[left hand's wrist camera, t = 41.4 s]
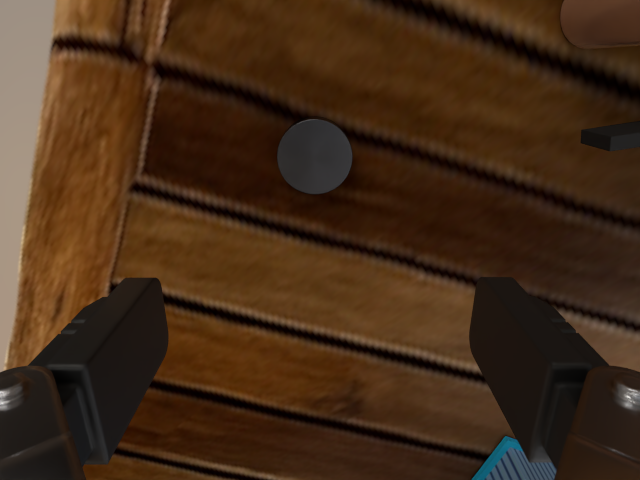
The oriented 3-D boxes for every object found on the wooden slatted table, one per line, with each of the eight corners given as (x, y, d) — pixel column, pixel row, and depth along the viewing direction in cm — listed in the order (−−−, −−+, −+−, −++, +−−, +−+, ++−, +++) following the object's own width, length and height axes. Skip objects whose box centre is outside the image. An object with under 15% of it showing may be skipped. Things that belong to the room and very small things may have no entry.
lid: (336, 196, 32) (337, 203, 30) (270, 175, 31) (268, 181, 30) (360, 129, 30) (363, 133, 29) (291, 106, 30) (289, 108, 28)
